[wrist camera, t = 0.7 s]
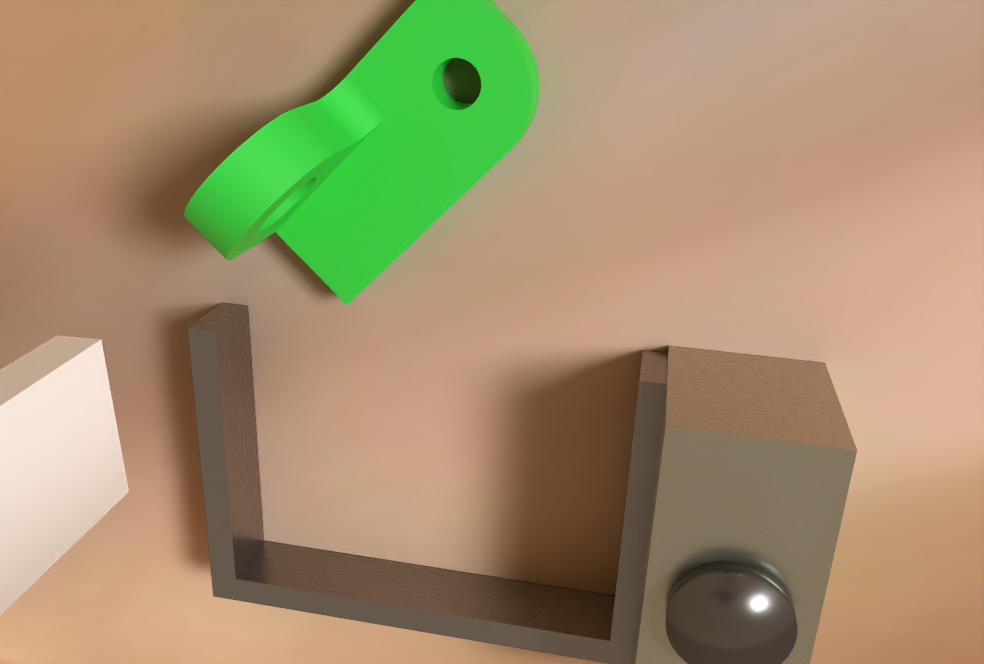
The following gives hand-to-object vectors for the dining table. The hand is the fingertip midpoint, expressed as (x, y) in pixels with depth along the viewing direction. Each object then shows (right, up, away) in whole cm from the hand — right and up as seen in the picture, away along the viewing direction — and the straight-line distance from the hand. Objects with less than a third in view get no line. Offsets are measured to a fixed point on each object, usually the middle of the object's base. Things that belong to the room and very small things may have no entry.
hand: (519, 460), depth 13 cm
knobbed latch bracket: (0, -4, +27) cm, 27 cm away
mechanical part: (-4, +9, +22) cm, 24 cm away
